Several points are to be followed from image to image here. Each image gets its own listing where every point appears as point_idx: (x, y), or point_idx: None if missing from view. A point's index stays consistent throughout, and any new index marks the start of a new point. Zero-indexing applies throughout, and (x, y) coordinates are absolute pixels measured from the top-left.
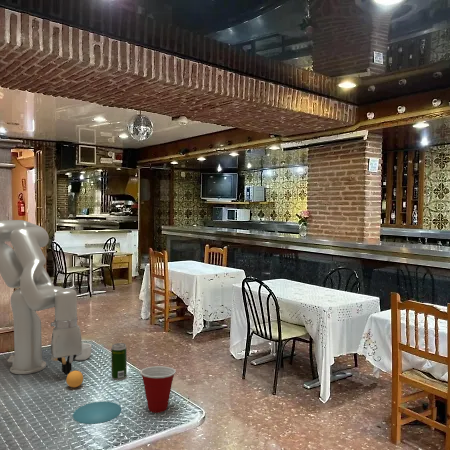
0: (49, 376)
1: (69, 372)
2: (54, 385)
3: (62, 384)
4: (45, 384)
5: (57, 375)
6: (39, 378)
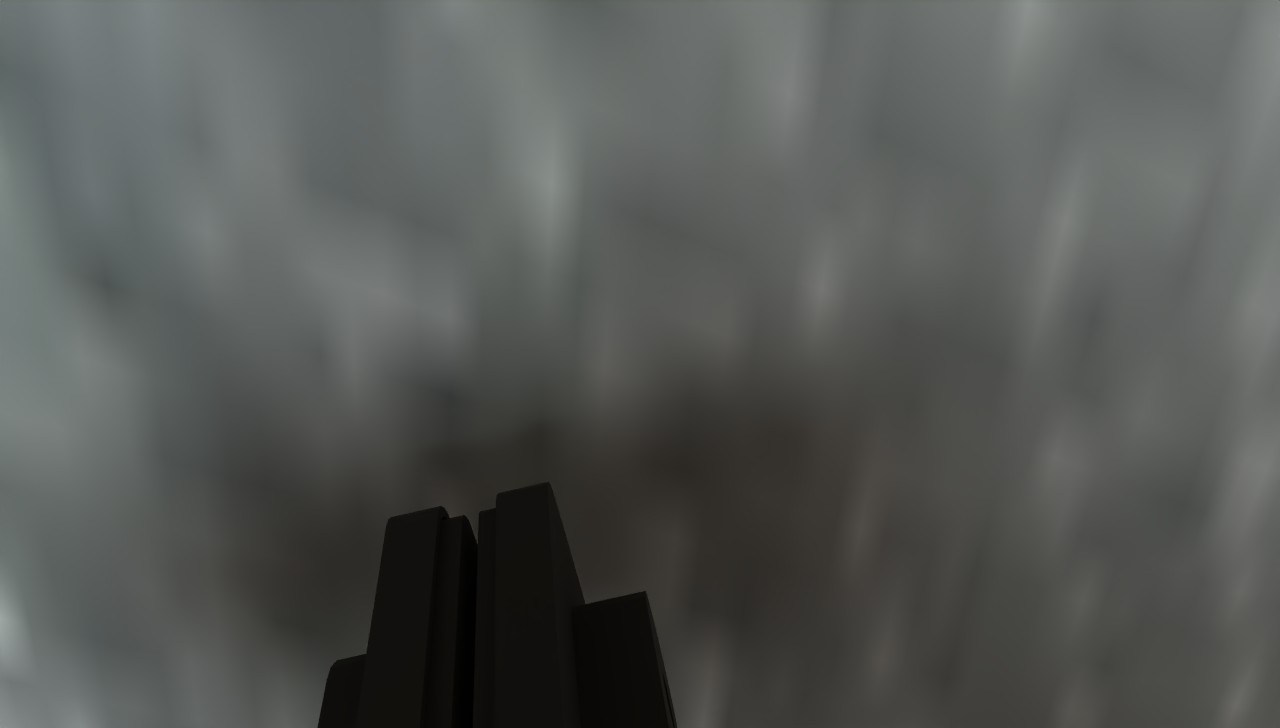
0: (925, 708)
1: (411, 548)
2: (940, 28)
3: (677, 5)
4: (1156, 231)
5: (737, 714)
6: (1158, 663)
